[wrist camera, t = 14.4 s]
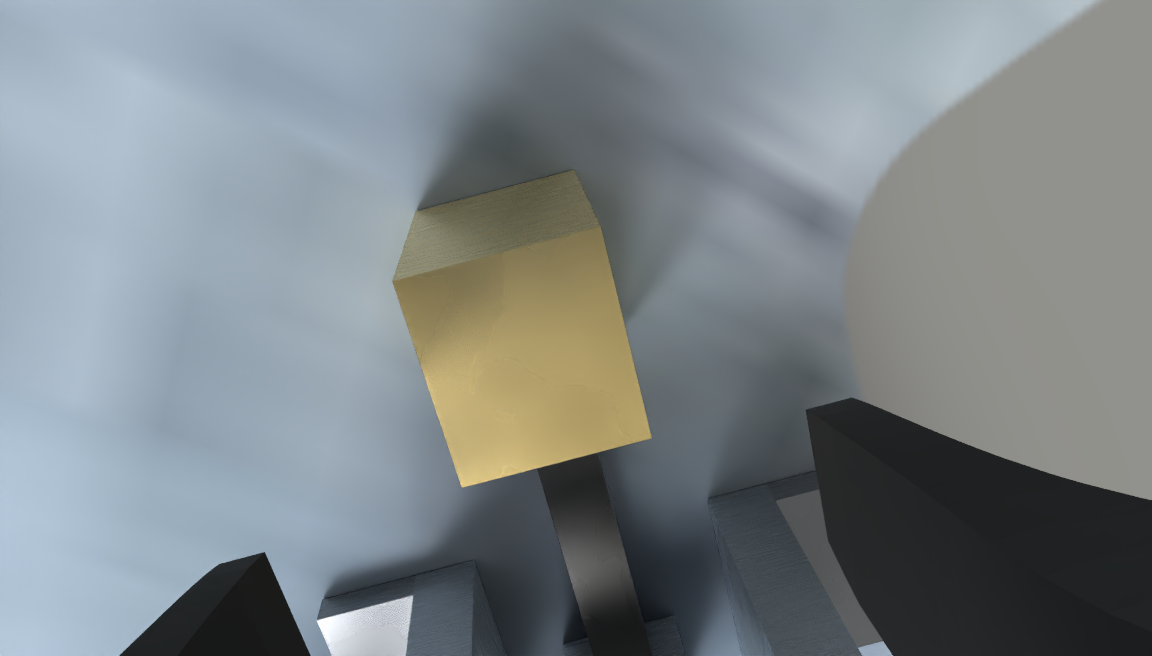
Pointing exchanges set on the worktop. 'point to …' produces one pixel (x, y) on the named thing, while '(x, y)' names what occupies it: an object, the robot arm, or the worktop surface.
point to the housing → (751, 568)
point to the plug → (535, 376)
